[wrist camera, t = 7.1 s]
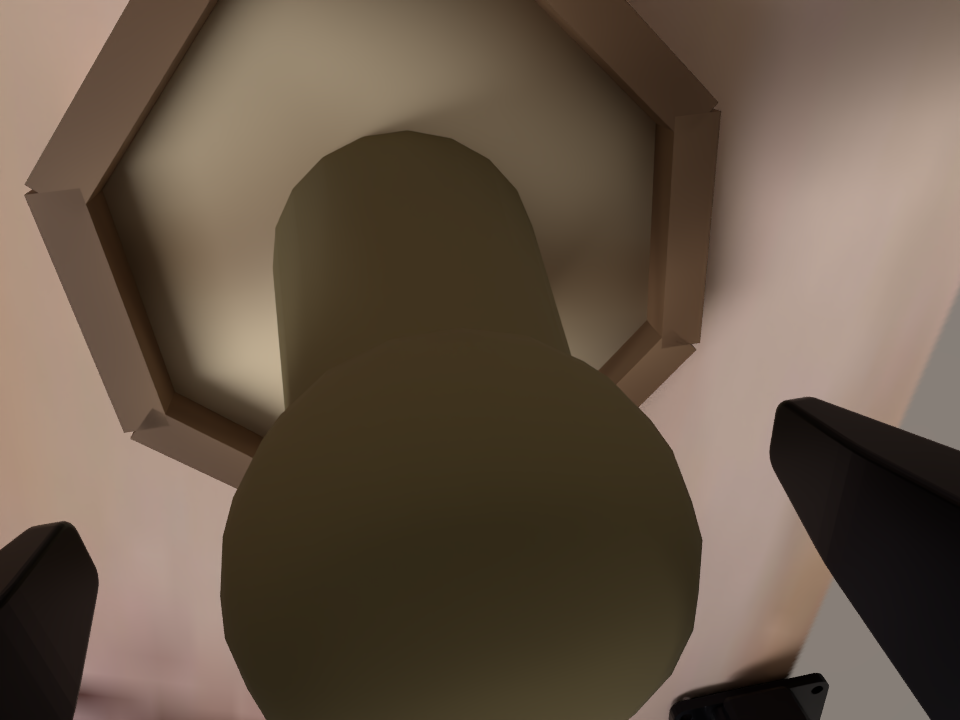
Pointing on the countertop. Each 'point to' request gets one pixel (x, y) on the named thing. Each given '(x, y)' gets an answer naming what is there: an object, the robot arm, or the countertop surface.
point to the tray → (330, 126)
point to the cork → (446, 470)
